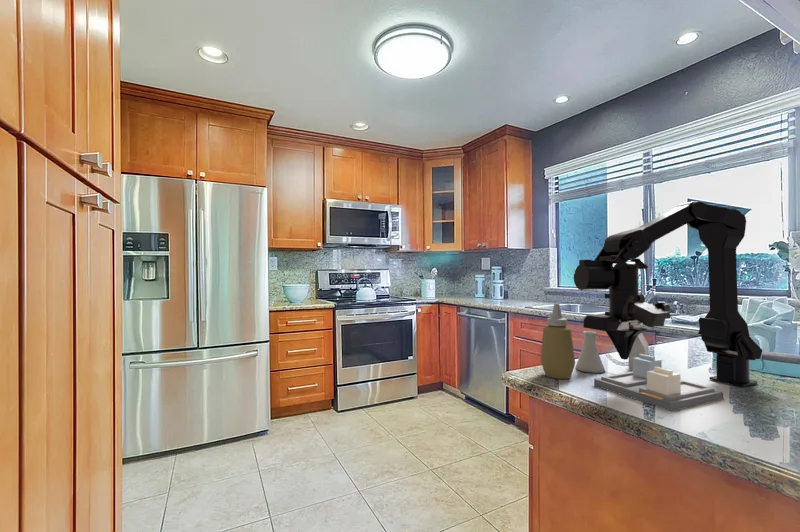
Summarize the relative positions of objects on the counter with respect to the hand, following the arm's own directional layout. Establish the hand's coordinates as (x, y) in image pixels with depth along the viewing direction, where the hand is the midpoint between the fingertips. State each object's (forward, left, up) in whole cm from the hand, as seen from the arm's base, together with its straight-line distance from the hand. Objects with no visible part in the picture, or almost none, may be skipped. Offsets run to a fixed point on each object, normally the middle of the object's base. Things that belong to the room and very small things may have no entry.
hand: (624, 359), depth 85 cm
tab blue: (-7, 0, -5) cm, 9 cm away
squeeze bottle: (+7, -13, -7) cm, 16 cm away
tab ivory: (+1, +9, -5) cm, 10 cm away
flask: (-5, -14, -7) cm, 16 cm away
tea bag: (-18, -10, -7) cm, 22 cm away
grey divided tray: (-3, +5, -6) cm, 9 cm away
